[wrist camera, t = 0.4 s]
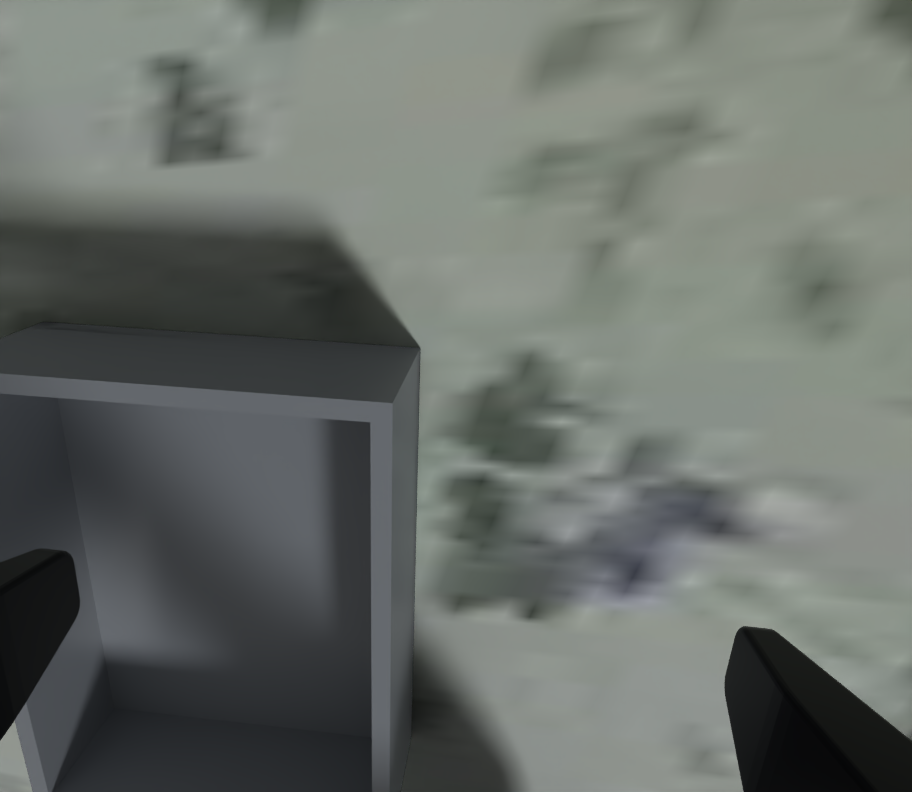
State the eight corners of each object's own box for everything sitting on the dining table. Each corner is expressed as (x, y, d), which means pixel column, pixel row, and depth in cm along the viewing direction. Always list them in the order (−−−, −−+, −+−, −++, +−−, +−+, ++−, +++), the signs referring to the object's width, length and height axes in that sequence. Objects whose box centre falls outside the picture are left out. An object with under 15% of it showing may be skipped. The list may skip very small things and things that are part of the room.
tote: (411, 736, 29) (388, 852, 24) (113, 703, 30) (36, 807, 25) (420, 348, 23) (392, 403, 18) (43, 321, 24) (-76, 367, 19)
